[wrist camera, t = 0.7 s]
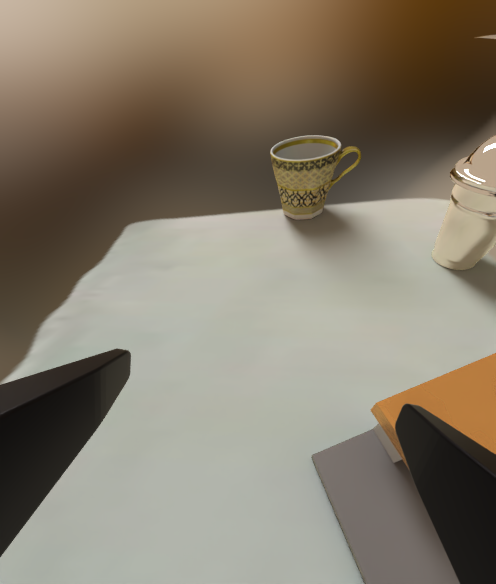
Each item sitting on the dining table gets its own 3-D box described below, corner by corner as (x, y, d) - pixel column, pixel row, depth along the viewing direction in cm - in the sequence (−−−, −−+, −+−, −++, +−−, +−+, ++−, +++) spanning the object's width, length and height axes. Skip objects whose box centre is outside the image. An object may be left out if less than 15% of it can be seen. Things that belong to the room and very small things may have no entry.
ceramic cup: (271, 227, 39) (267, 163, 32) (276, 197, 46) (272, 139, 39) (355, 224, 37) (370, 153, 30) (347, 193, 43) (358, 129, 36)
